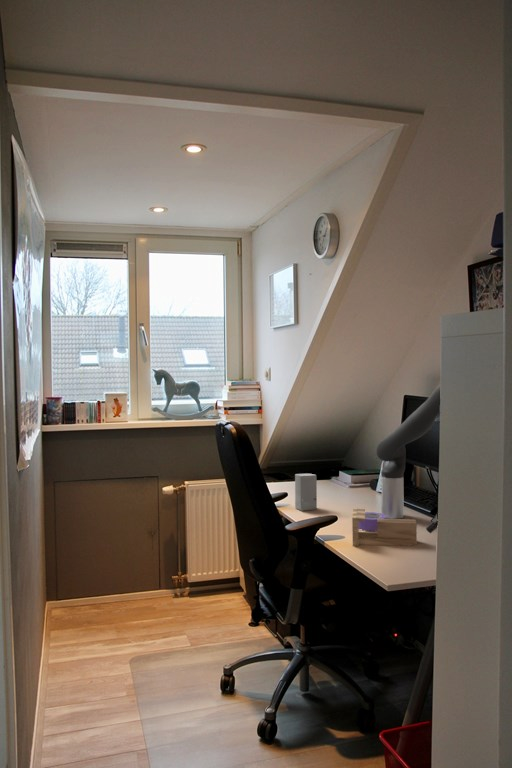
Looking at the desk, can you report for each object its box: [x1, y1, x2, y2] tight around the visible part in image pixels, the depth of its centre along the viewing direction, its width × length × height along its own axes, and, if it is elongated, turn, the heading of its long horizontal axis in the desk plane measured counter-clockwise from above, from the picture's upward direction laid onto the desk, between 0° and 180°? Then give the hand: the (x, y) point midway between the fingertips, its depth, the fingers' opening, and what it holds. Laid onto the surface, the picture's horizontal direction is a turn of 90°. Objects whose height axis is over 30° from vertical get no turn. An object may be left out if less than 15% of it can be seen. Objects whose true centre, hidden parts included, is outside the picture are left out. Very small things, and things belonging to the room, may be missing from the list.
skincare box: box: [294, 473, 318, 512], centre depth 286 cm, size 8×7×16 cm
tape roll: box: [359, 511, 387, 532], centre depth 254 cm, size 12×12×5 cm
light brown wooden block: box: [376, 518, 418, 545], centre depth 234 cm, size 5×14×8 cm, turn 80°
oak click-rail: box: [351, 508, 413, 547], centre depth 235 cm, size 14×21×10 cm, turn 80°
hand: (428, 530), depth 232 cm, fingers closed
